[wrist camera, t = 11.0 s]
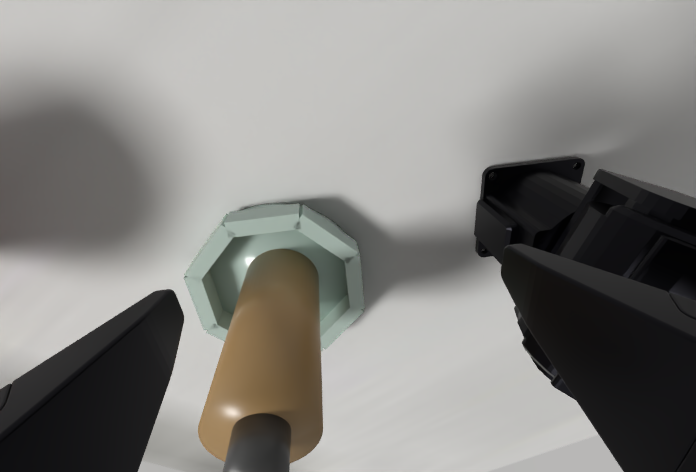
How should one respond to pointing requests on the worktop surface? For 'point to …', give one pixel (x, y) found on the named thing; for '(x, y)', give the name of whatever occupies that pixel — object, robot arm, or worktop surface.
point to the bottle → (268, 370)
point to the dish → (267, 234)
